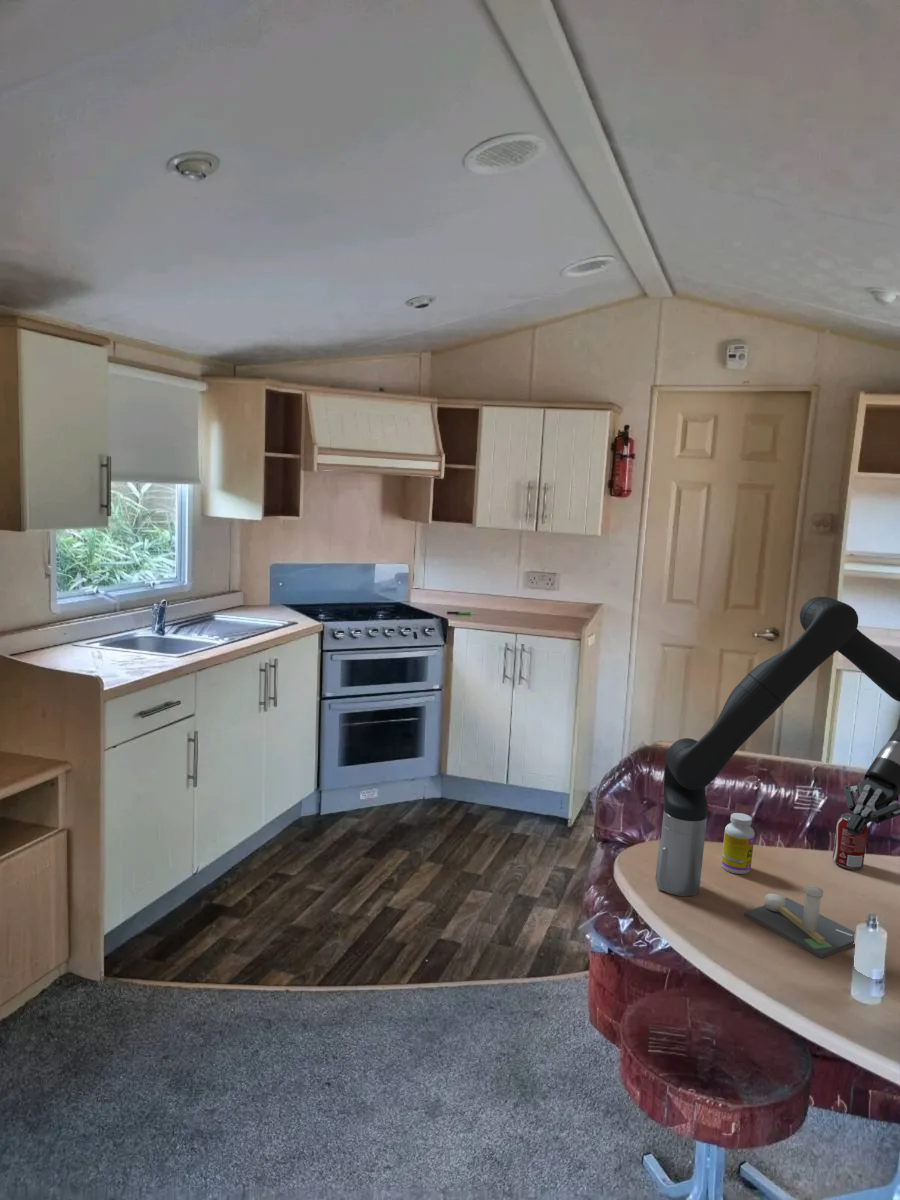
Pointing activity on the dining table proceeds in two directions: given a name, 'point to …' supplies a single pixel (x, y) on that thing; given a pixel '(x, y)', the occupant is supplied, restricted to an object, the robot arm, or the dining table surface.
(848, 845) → the soda can
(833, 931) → the dark grey base plate
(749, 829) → the supplement bottle
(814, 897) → the domed post with rod
